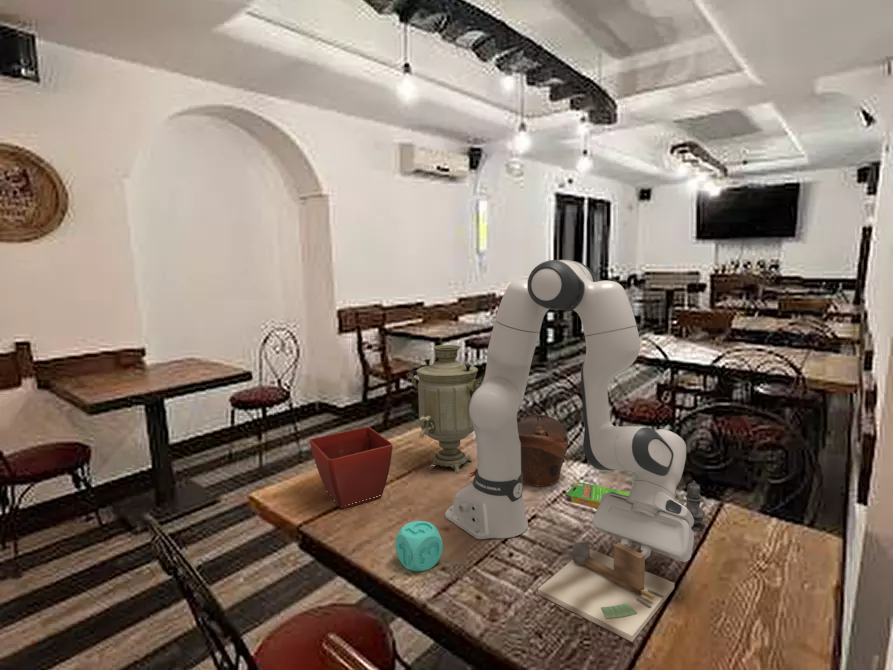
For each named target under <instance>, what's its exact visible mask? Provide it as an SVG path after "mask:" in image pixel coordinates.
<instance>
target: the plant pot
mask: <svg viewBox="0 0 893 670" xmlns="http://www.w3.org/2000/svg"><path fill="white" fill-rule="evenodd" d="M309 444H310V445H309V446H310V450H311V453H312V457H313V460H314V463H315V466H316V469H317V472H318V474H319V477H320V478H321V482H322V484H323V486H324V488H325V491H326V490H327V491H328V492H327V491H326V492H327V494H328V496H329V497H330V498H331V499H332V500H333V499H334V500H335V501H334V500H333V502H334V503H335V504H336V505H337V507H338V508H339V509H343V510H344V509H348V508H350V507H354V506H356V505H357V506H358V505H360V504H364V503H369V502H371V501H374V500H378V499H380V498H382V496H383V494H384V491H385V488H386V485H387V481H388V478H389V477H388V476H389V473H390V468H391V462H392V456H393V455H392V454H393V446H394V445H393V443H392V442H391V441H389V440H388V439H387V438H385V437H384V436H383V435H381V434H379V433H378V432H377V431H376V430H374V429H373V428H372V427H370V426H365V427H360V428H356V429H350V430H346V431H341V432H336V433H332V434H327V435H324V436H323V435H322V436H318V437H313V438H310V439H309ZM329 494H330V495H331V496H330V495H329ZM379 495H381V496H379ZM376 496H378V497H376ZM373 497H375V498H373ZM369 498H371V499H369ZM366 499H367V500H366ZM362 500H364V501H362ZM359 501H360V502H359ZM355 502H357V503H355ZM352 503H353V504H352ZM348 504H350V505H348ZM338 505H339V506H338ZM345 505H346V506H345ZM341 506H342V507H341Z"/></svg>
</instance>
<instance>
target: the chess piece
mask: <svg viewBox="0 0 893 670" xmlns="http://www.w3.org/2000/svg"><path fill="white" fill-rule="evenodd" d="M686 491H687V493H686V495H685V498H686V500H685V501H686V504H685V505H684V506H685V507H686V508H687V509H688V510H689V511H690V513H691V514H692V516H693V518H694V524H693V526H692V527H690V528H691V529H692V531H697V532H698V531H702V530H703V529H704V528H705V527H704V523H702V522H703V521H704V519H705V517H706V515H707V514H706V512H705V510H703V509H701V506H700V505H701V504H700V503H701V500H702V497H701V486H700V485H699V484H698V483H697V482H696V481H695V480H692V481H691V482H690V483H688V484H687V489H686Z"/></svg>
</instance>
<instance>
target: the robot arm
mask: <svg viewBox="0 0 893 670" xmlns="http://www.w3.org/2000/svg"><path fill="white" fill-rule="evenodd" d="M595 277H596V276H595V275H594V273H593V271H592V270H591V268H589V267H588V266H587V265H585V264H584V263H581V262H579V261H574V260H571V259H559V260H557V259H552V260H551V259H549V260H547V261H546V260H545V261H543V262H541V263H540V264H538V265H536V266H535V267H534V268H533V269H532V270H531V272H530V273H529V276H528V279H523V278H521V279H516V280H514V281H511V282H510V283H509V284H508V286H507V288H505V291H504V293H503V295H502V299H500V300H501V301H500V303H499V305H498V309H497V313H496V316H495V318H494V319H495V320H494V323H493V327H492V330H491V335H490V339H489V343H488V347H487V357H486V359H487V360H486V365H485V371H484V376H483V377H484V379H483V382H482V384H481V385H479V386H478V387H477V388H478V389H477V390H476V391H475V392H474V394H473V396H472V398H471V402H470V407H469V414H470V417H471V420H472V421H473V426H474V431H473V432H474V434H475V439H476V440H475V441H476V451H477V452H476V457H477V458H476V459H477V468H475V470H473V471H472V472H470V473H469V478H472V477H473V479H472V482H470V483H468V484H467V485H466V486H464V487H463V488H461V489H460V490H458V491H457V493H456V494H455V496H454V499H453V504H452V505H451V506H450V507H448V508H447V509H446V510H445V512H444V517H445V518H446V519H447V520H449V521H450V522H451V523H453V524H455V526H457V527H459V528H460V529H462V530H464V531H465V532H466V533H467V534H469V535H471V537H473V538H474V539H476V540H486V539H510V538H514V537H517V536H519V535H522V534H523V533H524V532H526V531H527V529H528V527H529V522H528V518H527V516H526V515H527V514H526V512H525V511H526V510H525V505H524V499H523V492H524V491H523V490H524V482H523V473H522V471H521V442H520V440H519V434H518V427H517V423H518V412H519V408H520V406H521V404H522V403H523V402H524V401H523V400H524V398H525V392H526V390H527V389H526V387H527V385H528V379H529V375H530V371H531V370H530V369H531V365H532V362H533V357H534V355H535V350H536V347H537V343H538V338H539V335H540V332H541V329H542V324H543V322H544V317H545V315H546V313H548V311H549V310H554V311H567V312H570V311H574V312H575V313H577V314H578V316H579V318H580V322H581V324H582V329H583V333H584V338H585V349H586V350H585V352H586V353H585V358H584V361H583V362H582V365H581V369H580V385H581V399H582V410H583V411H582V412H583V423H584V427H583V428H584V432H583V433H584V434H583V441H582V442H583V443H582V444H583V446H582V447H583V453H584V455H585V457H586V459H587V461H588V462H589V464H590V465H591V467H592V468H595V469H596V470H598V471H623V472H633V473H634V474H635V476H636V477H635V478H634V480H633V482H632V485H631V488H630V490H629V493H630V494H629V496H626V495H622V494H617V493H615V492H610V493H605V494H603V496H602V498H601V500H600V505H599V507H598V508H596V511H595V513H594V514H593V516H592V517H593V518H592V520H591V523H592V526H593V528H594V529H595V530H596V531H597V532H599V533H602V534H604V535H607V536H610V537H613V538H615V539H618V540H620V543H621V544H623V545H625V546H627V547H629V548H631V546H632V544H633V545H636V546H639V547H640V550H641V552H640V553H641V554H643V555H645V560H646V559H648V558H649V557H650V556H651V553H652V552H655V553H658V554H660V555H663V556H666V557H669V558H671V559H675V560H677V561H681V562H683V563H686V562H688V561H689V560H691V558H692V553H693V548H694V541H695V540H694V539H695V535H694V530H692V529H691V528H690V527H692V526H693V524H694V518H693V516H692V514H691V513H690V511H689V510H688V509H687V508H686V507H685V506H686V505H683V504H681V503H680V502H678V501H677V500H675V499H676V494H677V493H676V491H677V490H676V489H677V486H678V485H679V484H680V482H681V480H682V477H683V473H684V468H685V464H686V459H687V444H686V442H685V441H684V439H683V438H682V436H679V434H677V433H675V432H673V431H671V430H668V429H664V428H659V429H656V430H655V429H653V428H651V427H647V426H639V425H637V426H636V425H634V426H632V425H631V426H629V425H628V426H627V425H626V426H615V425H614V424H612V421H611V418H610V408H609V407H610V405H609V395H608V393H609V392H608V391H609V385H610V383H612V382H611V381H612V380H613V379H614V378H615V377H617V376H618V375H619V374H621V373H623V372H624V371H626V370H627V369H628V368H630V367H631V366H632V365H633V363H634V362H635V361H636V360H637V358H638V356H639V354H640V352H641V350H640V349H641V341H640V340H641V339H640V334H639V331H638V326H637V321H636V318H635V315H634V311H633V307H632V305H631V303H630V299H629V297H628V296H627V293H626V291H625V288H624V287H623V286H622V285H621V284H620V283H619V282H616V281H613V280H599V281H596V278H595ZM608 494H609V495H610V496H609V495H608Z"/></svg>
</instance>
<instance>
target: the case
mask: <svg viewBox="0 0 893 670" xmlns="http://www.w3.org/2000/svg"><path fill="white" fill-rule="evenodd" d="M517 427H518V434H519V440H520V442H521V471H522V473H523V483H525V484H527V485H531V486H534V487H536V486H537V487H543V486H544V487H546V486H550V485H554V484H555V483H557V482H558V481H559V479H560V478H561V477H560V476H561V472H562V467H563V464H565V460H566V461H569V458H568V456H566V455H567V449H568V446H569V436H568V433H567V431H566V429H565V427H564V425H563V424H562V423H561V422H560V421H558V420H557V419H555V418H553V417H551V416H550V415H549V416H548V415H546V414H533V415H529V416H527V417H524V418H523V419H521V420H520V421H518V422H517Z"/></svg>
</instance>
